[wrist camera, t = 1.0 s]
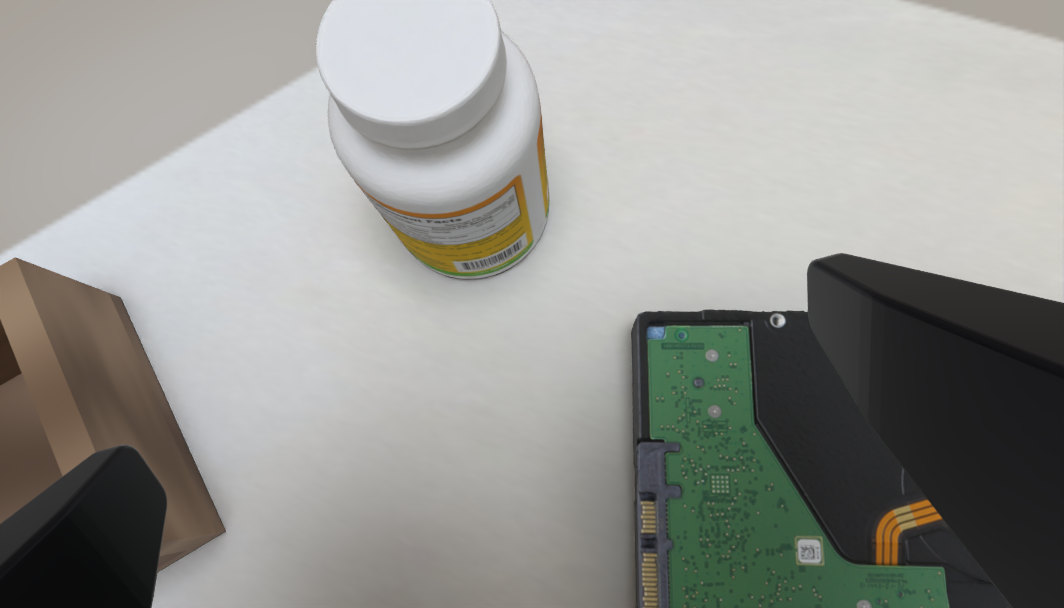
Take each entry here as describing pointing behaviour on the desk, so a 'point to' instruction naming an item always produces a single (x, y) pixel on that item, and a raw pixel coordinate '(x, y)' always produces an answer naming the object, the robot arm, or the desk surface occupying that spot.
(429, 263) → the supplement bottle
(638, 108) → the desk surface
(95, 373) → the wooden box
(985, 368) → the robot arm
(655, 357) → the disk drive
